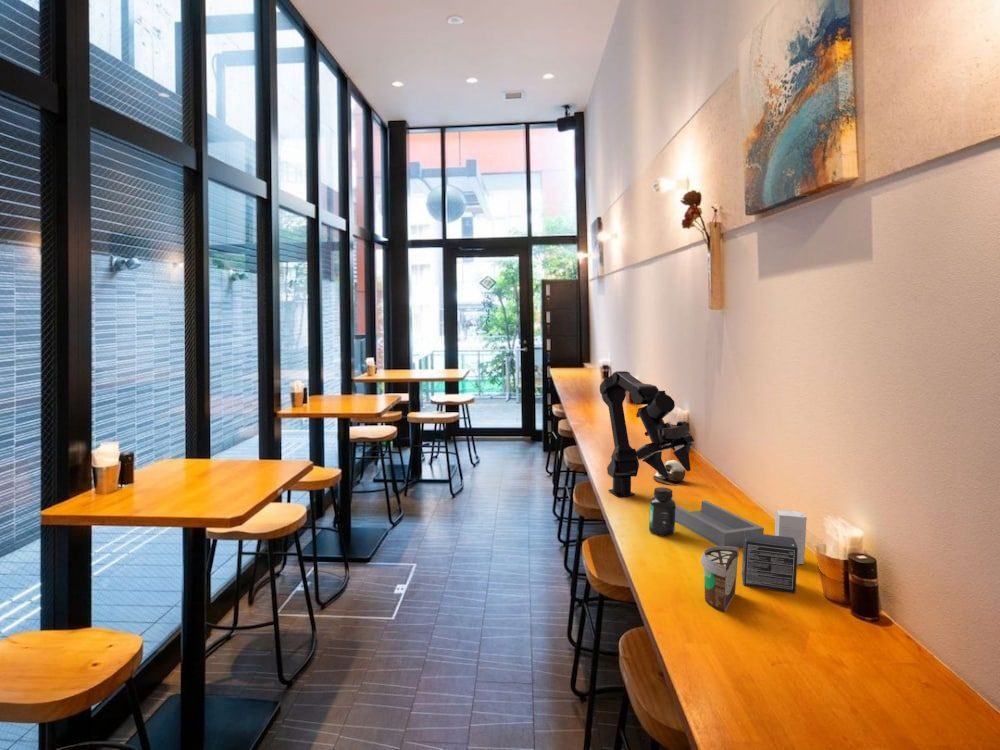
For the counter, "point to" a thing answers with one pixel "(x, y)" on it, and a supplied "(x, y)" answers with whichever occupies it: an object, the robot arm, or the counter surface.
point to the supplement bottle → (662, 512)
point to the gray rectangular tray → (716, 524)
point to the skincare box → (792, 529)
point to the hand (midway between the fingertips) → (678, 474)
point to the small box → (769, 562)
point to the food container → (720, 575)
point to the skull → (672, 473)
